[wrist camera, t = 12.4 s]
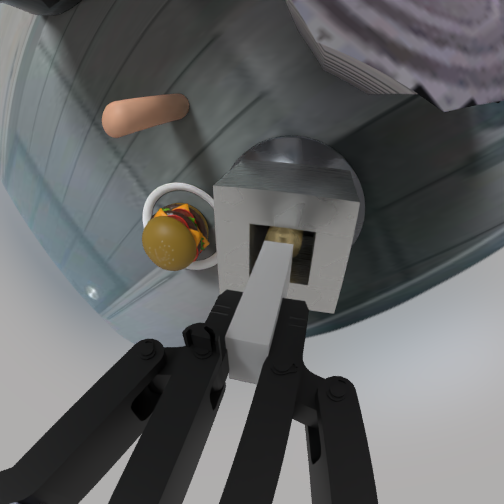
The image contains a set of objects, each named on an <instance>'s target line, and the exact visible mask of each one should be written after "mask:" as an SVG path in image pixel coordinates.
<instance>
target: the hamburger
mask: <svg viewBox="0 0 504 504" xmlns="http://www.w3.org/2000/svg"><path fill="white" fill-rule="evenodd" d="M175 190H183V191H188V192H192V193H194V194H196V195H198V196H200V197H201V198H203V199H204V200H205V201H207V202H208V203H209V204H210V205H211V206H212V208H213V209H214V199H213V198H212V197H211V196H210V195H208V194H207V193H206V192H204V191H203V190H201V189H199V188H197V187H195V186H193V185H189V184H186V183H176V182H174V183H168V184H164V185H162V186H160V187H158V188H157V189H155V190H154V191H153V192H152V193H151V194H150V195H149V197H148V198H147V200H146V202H145V205H144V209H143V225H144V231H143V235H142V243H143V247H144V250H145V252H146V254H147V255H148V256H149V258H150V259H151V260H152V261H153V262H154V263H155V264H156V265H157V266H159V267H160V268H162V269H165V270H169V271H178V270H181V269H190V270H202V269H207V268H210V267H212V266H214V265H216V264H217V251H216V253H215V254H213V255H212V256H211V257H209V258H207V259H205V260H200V261H195V260H196V259H197V257H198V255H199V254H200V253H201V252H202V250H204V248H205V247H207V246H208V245H209V244H210V243H209V242H208V240H207V239H208V225H207V222H206V220H205V218H204V217H203V215H202V214H201V213H200V212H199V211H198V210H197V209H196V208H194V207H193V206H191V205H188V204H184V203H174V204H171V205H168V206H166V207H163V208H160V209H159V210H158V212H157V213H156V214H154V215H152V210H153V207H154V205H155V203H156V201H157V200H158V199H159V197H161V196H162V195H163V194H165V193H167V192H170V191H175Z"/></svg>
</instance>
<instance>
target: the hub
mask: <svg viewBox="0 0 504 504" xmlns="http://www.w3.org/2000/svg"><path fill="white" fill-rule="evenodd" d="M243 159H246V160H260V161H273V162H284V163H294V164H303V165H311V166H319V167H327V168H334V169H341V170H348V171H350V173H351V176H352V179H353V182H354V185H355V188H356V191H357V194H358V197H359V201H360V206H359V211H358V216H357V221H356V226H355V231H354V236H353V240H352V245H353V244H354V243H355V241H356V239H357V238H358V236H359V234H360V231H361V229H362V226H363V222H364V217H365V199H364V193H363V190H362V187H361V184H360V181H359V179H358V177H357V175H356V173H355V171H354V170H353V168H352V167H351V165H350V164H349V163H348V161H347V160H346V159H345V158H344V157H343V156H342V155H341V154H339V153H338V152H337V151H336V150H335V149H333V148H331V147H330V146H328V145H327V144H324V143H322V142H320V141H318V140H315V139H311V138H308V137H302V136H280V137H275V138H271V139H268V140H265V141H263V142H261V143H259V144H257V145H255V146H254V147H252V148H251V149H249V150H248V151H247V152H246V153H244V154H243V155H242V156H241V157H240V158H239V159H238V160H237V161H236V162H235V163H234V165H233V166H232V168H234V167H235V166H236V165H237V164H238V163H239V162H241V161H242V160H243ZM232 168H231V169H232ZM231 169H230V170H231ZM303 235H304V236H311V237H313V236H314V232H312V231H304V230H297V229H289V228H282V227H274V226H268V232H267V234H266V237H265V240H264V241H272V242H279V243H287V244H293V254H292V258H294V257H295V256H296V255H297V254H298V253H299V252H300V249H301V244H302V238H303ZM352 245H351V247H352Z"/></svg>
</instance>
